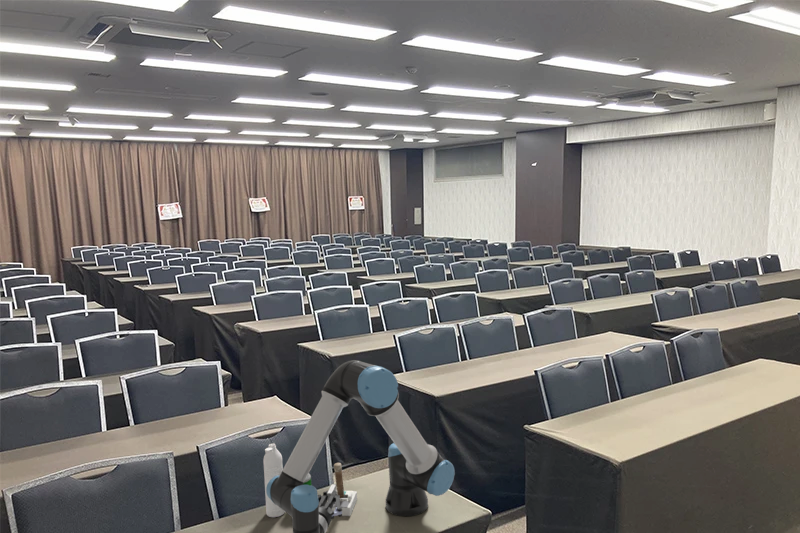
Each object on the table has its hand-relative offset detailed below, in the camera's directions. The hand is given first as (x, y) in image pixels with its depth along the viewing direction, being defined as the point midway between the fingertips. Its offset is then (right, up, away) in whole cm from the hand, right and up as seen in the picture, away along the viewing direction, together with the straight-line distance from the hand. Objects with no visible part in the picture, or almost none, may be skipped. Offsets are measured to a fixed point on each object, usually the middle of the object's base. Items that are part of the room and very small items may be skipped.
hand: (334, 488), depth 194 cm
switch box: (+2, -10, +9) cm, 14 cm away
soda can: (-13, -11, +10) cm, 20 cm away
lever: (+1, -6, +9) cm, 11 cm away
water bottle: (-21, -12, +5) cm, 25 cm away
